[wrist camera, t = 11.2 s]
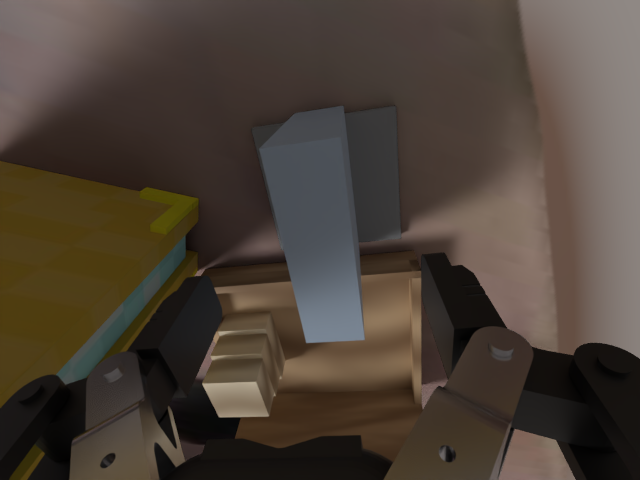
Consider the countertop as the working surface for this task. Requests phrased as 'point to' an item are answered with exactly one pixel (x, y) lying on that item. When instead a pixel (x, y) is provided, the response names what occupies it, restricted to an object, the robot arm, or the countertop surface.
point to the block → (317, 221)
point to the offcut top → (239, 388)
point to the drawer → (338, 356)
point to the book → (81, 273)
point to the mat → (364, 171)
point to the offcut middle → (248, 352)
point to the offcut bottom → (255, 331)
